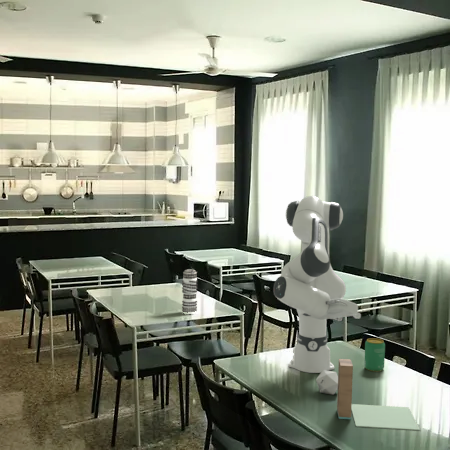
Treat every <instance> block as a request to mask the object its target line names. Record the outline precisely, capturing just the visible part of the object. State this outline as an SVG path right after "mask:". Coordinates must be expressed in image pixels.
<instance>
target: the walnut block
mask: <svg viewBox="0 0 450 450" xmlns="http://www.w3.org/2000/svg"><path fill="white" fill-rule="evenodd" d="M353 365H354V364H353V362H352V359H348V358H347V359H345V358H339V359H338V372H337V375H338V389H337V394H336V395H337V402H336V412H337V416H338V419H340V420H341V419H342V420H343V419H344V420H352V410H351V406H352V404H353V403H352V399H353V375H354V374H353V373H354V372H353V371H354V366H353Z"/></svg>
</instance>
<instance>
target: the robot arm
mask: <svg viewBox="0 0 450 450" xmlns="http://www.w3.org/2000/svg"><path fill="white" fill-rule="evenodd" d="M285 219H286V222H287V224H288V226H290V227H291V228H292V232H293V234H294V236H295V237H296V238H297V239H298V240H300V241H301V252H300V253H299V254H298V255H296V256H295V257H294V258H292V259H291V260H290V261H288V262H287V263H285V265H284V266H282V269H281V273H280V275H279V276H278V277H277V278H276V280H275V281H274V283H273V295H274V297H275V298H277V300H278V301H280V302H281V303H283V304H285V305H287V306H289V307H290V308H293V309H296V312H297V314H298V325H299V326H298V327H299V328H298V329H299V330H298V331H299V332H298V333H297V344H296V345H295V347H293V349H292V350H293V351H292V353H293V356H292V359H291V360H290V362H289V364H288V367H289V368H292V369H295V370H297V371H300V372H304V373H310V374H316V373H317V374H318V373H319V374H320V373H321V372H322V371H323V370H326V371H333V370H335V365H334V364H333V363H332V362H331V349H330V348H329V346H328V338H327V337H328V335H327V320H328V319H330V320H335V321H337V322H341V321H343V318H344V317H352V318H353V319H357V320H358V319H359V320H360V319H361V317H362V314H361V313H360V312H358V310H359V305H358V304H357V303H355V302H353V301H350V300H347V299H344V297H345V295H346V292H347V291H346V290H347V287H346V282H345V281H344V280H343V278H341V277H340V276H339V275H338V274H337V273H336V272H335V271H334V269H333V267H332V264H331V258H330V231H333V230H335V229H338V228H339V227H340V226H341V224H342V221H343V219H344V212H343V209H342V205H340V203H338V202H333V201H331V202H329V201H323V200H321V199H320V198H319V197H318V196H313V195H309V196H306V197H303V198H302V199H301V200H300V201H299V200H294V201H291V202H290V203H289V204H288V205H287V207H286V210H285Z"/></svg>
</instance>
